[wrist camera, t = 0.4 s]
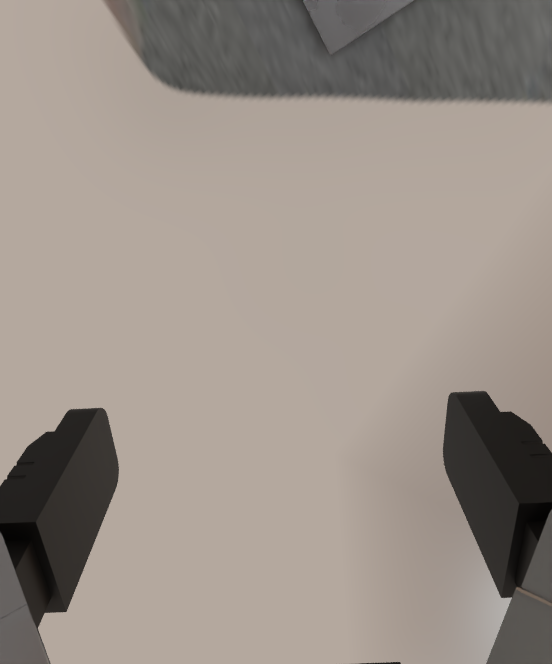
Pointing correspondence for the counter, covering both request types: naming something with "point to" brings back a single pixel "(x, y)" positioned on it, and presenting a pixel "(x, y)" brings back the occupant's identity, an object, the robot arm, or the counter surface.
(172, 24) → the counter surface
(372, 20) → the grey slotted holder
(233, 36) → the counter surface
